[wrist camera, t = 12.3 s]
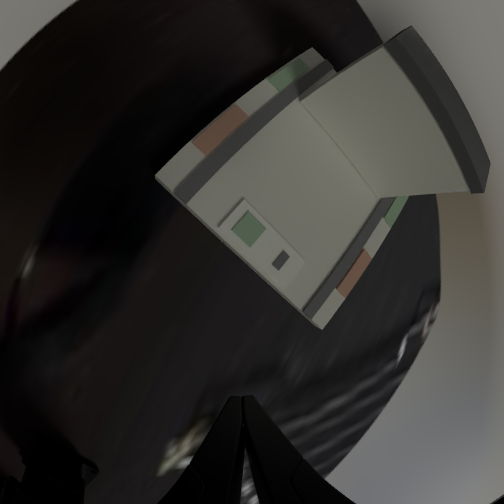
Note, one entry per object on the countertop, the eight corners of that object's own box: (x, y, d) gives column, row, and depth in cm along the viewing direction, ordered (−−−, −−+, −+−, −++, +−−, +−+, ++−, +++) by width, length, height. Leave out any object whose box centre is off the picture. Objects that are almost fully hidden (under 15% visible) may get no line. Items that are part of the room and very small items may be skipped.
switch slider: (377, 199, 21) (483, 193, 12) (298, 101, 18) (395, 37, 9) (392, 175, 22) (490, 162, 12) (320, 83, 18) (411, 25, 9)
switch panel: (313, 324, 21) (324, 330, 20) (154, 178, 16) (154, 174, 15) (407, 183, 24) (418, 181, 23) (305, 53, 19) (314, 45, 18)
